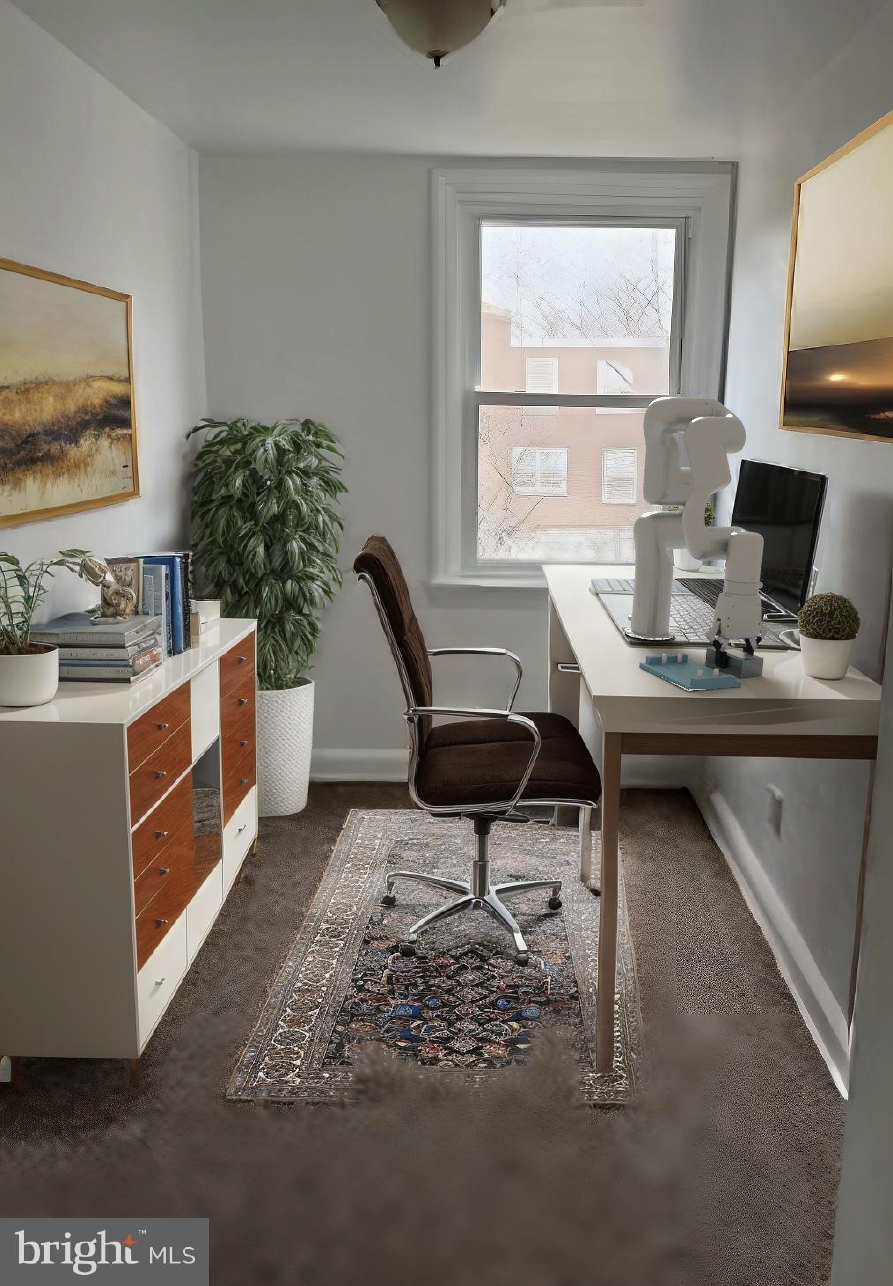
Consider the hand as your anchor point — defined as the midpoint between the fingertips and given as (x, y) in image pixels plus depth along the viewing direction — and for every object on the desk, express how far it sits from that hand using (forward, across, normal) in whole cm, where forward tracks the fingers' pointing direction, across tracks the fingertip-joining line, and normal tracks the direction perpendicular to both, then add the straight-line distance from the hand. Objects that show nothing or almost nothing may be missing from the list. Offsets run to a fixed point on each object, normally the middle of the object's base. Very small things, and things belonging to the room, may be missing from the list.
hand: (733, 665), depth 234 cm
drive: (+1, 0, 0) cm, 1 cm away
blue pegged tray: (+1, +13, +2) cm, 13 cm away
